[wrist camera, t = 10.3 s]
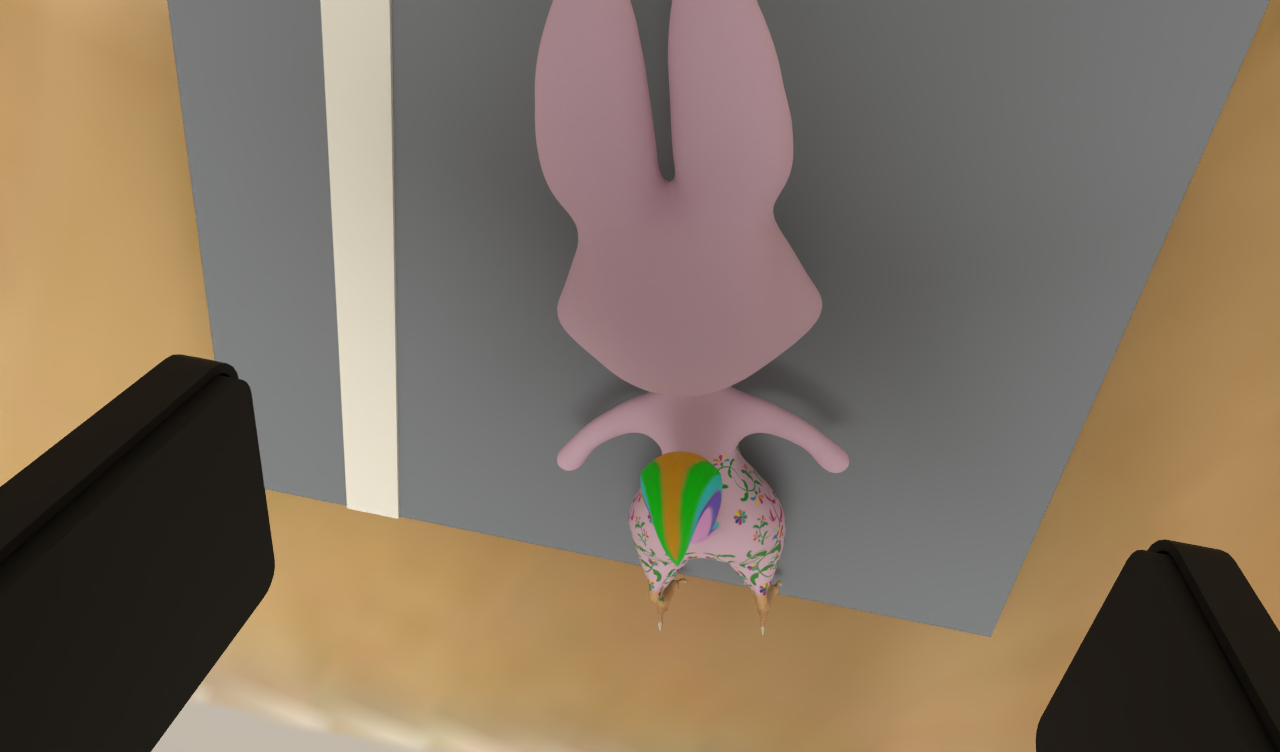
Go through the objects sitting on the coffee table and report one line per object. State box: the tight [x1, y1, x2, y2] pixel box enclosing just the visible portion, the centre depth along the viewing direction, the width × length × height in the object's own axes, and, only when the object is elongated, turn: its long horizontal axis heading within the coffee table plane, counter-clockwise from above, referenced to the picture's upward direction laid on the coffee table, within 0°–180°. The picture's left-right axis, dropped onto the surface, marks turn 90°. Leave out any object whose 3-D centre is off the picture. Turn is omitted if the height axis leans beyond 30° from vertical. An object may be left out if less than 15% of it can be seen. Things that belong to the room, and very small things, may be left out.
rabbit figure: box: [535, 0, 849, 635], centre depth 16 cm, size 6×6×15 cm
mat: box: [167, 0, 1270, 637], centre depth 19 cm, size 16×20×1 cm
